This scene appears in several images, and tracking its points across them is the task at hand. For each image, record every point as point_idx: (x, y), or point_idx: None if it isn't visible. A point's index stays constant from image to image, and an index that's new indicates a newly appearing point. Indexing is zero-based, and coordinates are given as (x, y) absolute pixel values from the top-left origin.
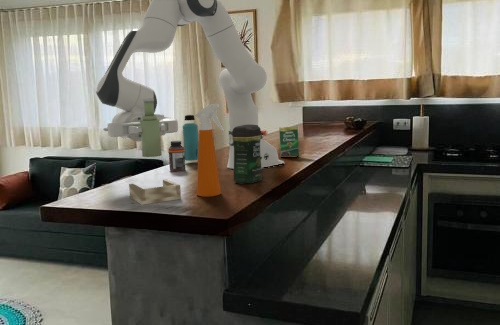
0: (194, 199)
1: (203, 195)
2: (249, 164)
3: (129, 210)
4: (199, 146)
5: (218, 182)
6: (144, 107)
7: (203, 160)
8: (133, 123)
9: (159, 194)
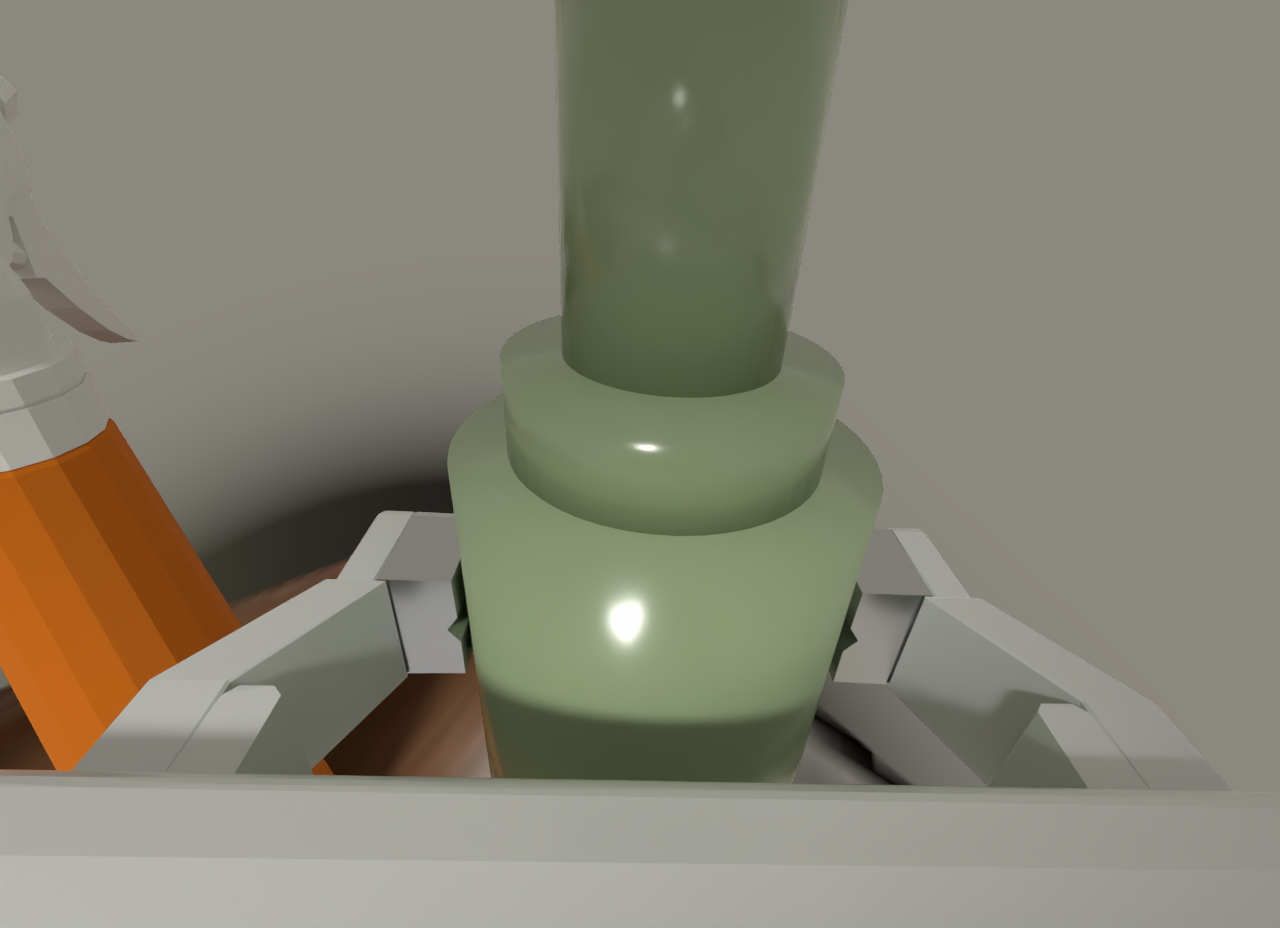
0: (432, 776)
1: None
2: None
3: (835, 765)
4: (186, 588)
5: None
6: (819, 128)
7: None
8: (1114, 794)
9: None
